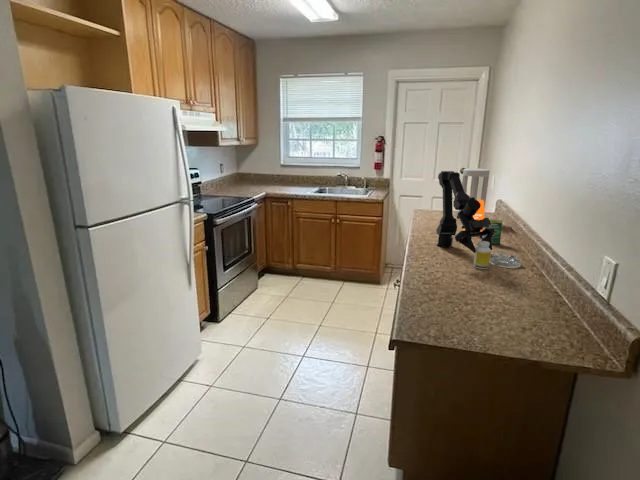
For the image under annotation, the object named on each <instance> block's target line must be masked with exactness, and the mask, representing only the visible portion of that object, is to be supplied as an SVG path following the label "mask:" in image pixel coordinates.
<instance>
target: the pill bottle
mask: <svg viewBox="0 0 640 480" xmlns="http://www.w3.org/2000/svg"><path fill="white" fill-rule="evenodd" d="M477 245H478V246H476V247H475V249H476V252H475V253H474V256H473V265H472V266H473V267H474V268H476V269H479V270H486V269H487V270H488V269H489V267H490V263H489V261H490V255H491V254H492V253H491V252H492V250H491V249H490V248H489V245H490V243H489V242H487V241H482V240H479V241H477Z"/></svg>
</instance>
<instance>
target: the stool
mask: <svg viewBox="0 0 640 480" xmlns="http://www.w3.org/2000/svg"><path fill="white" fill-rule="evenodd" d="M489 176H490V170H489V169H486V168H477V167H476V168H474V167H473V168H472V167H471V168H468V167H467V168H464V169H463V173H462V181H461V183H462V186H463V189H464V192H465V193H466V194H467V186H468V179H469V177H471V181H470V188H469V189H470V190H469V197H474V198H475V200H478V199H477V198H478V189H479V188H478V187H479V182H480V181H479V180H480V178H482V187H481V195H480V200H484V208H485V209H486V200H487V193H488V186H489V178H490V177H489ZM460 211H461V210H458V213H459V212H460Z"/></svg>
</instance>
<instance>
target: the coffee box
mask: <svg viewBox="0 0 640 480" xmlns="http://www.w3.org/2000/svg"><path fill="white" fill-rule="evenodd" d="M489 220H490V224H489V226H488V227H487V226H486V227H485V228H494V230H495V233H494V235H493V236H492V238H491V242H492V244H493V245H500V244H501V239H502V238H501V235H502V228H503V227H502V226H503V219H502V220H501V219H491V218H489Z"/></svg>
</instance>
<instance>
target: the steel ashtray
mask: <svg viewBox="0 0 640 480" xmlns="http://www.w3.org/2000/svg"><path fill="white" fill-rule="evenodd" d="M489 265H492V266H495V267H498V268H503V269H518V268H521V266H522V264H521V258H517V255H515V254H510V255H506V254H505V255H504V254H503V252H497V254H492V253H491V254H490V261H489Z"/></svg>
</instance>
